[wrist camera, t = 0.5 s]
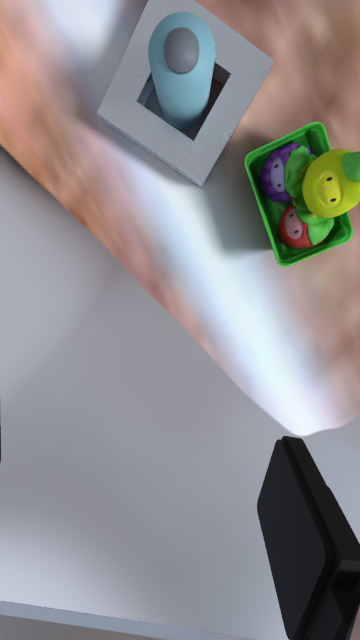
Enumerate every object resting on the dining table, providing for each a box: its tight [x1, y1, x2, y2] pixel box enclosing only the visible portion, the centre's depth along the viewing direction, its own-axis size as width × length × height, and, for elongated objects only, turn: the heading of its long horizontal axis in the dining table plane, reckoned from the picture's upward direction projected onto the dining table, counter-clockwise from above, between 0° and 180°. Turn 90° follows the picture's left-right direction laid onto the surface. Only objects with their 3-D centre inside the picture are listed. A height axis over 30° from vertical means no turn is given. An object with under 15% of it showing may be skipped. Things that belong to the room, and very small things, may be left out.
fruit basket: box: [244, 122, 360, 267], centre depth 29 cm, size 11×9×11 cm
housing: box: [97, 0, 274, 187], centre depth 30 cm, size 12×12×3 cm
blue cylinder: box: [148, 12, 215, 128], centre depth 27 cm, size 5×5×10 cm
